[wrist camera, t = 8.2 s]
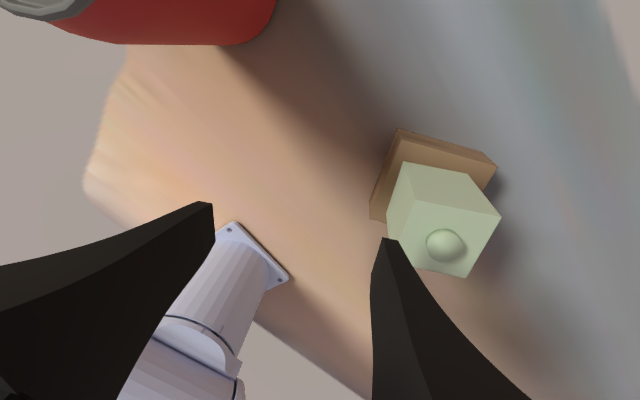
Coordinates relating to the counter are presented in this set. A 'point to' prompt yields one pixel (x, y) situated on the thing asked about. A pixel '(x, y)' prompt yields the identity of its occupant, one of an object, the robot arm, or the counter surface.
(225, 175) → the counter surface
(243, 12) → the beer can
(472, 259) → the sage brick
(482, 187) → the walnut block
